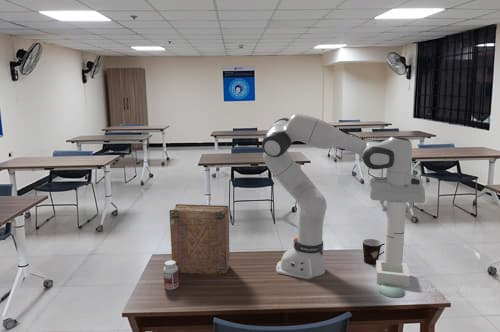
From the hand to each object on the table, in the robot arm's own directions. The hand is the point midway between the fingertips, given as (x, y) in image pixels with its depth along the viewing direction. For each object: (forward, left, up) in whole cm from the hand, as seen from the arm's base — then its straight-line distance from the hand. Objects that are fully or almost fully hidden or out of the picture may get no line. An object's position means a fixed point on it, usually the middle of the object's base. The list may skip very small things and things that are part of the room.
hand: (395, 211), depth 157 cm
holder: (+1, +12, -34) cm, 36 cm away
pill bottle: (-90, -19, -34) cm, 98 cm away
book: (-84, -1, -34) cm, 91 cm away
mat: (0, 0, -34) cm, 34 cm away
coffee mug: (-6, +27, -34) cm, 44 cm away
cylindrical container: (0, -1, -21) cm, 21 cm away
